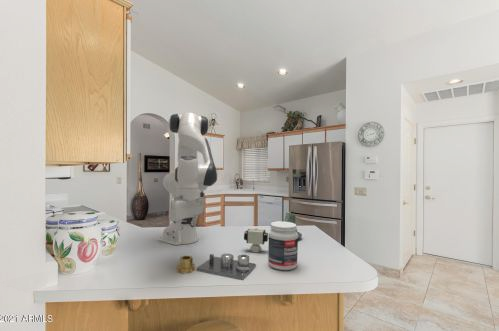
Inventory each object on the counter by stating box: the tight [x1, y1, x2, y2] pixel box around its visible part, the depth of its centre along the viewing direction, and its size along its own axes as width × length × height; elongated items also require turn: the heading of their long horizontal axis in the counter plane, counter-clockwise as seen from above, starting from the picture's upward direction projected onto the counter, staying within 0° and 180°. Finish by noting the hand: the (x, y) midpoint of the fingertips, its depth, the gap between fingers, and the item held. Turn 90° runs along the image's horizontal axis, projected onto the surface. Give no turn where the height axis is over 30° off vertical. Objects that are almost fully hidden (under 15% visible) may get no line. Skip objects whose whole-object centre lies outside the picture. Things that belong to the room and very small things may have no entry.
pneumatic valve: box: [243, 227, 269, 254], centre depth 130 cm, size 6×12×12 cm, turn 78°
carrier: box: [196, 253, 257, 281], centre depth 108 cm, size 21×14×7 cm, turn 68°
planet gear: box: [176, 255, 197, 274], centre depth 106 cm, size 7×7×5 cm
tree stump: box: [268, 212, 303, 240], centre depth 154 cm, size 18×20×18 cm
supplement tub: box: [267, 220, 299, 271], centre depth 113 cm, size 13×13×18 cm
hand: (187, 227), depth 106 cm, fingers open, 8 cm apart
